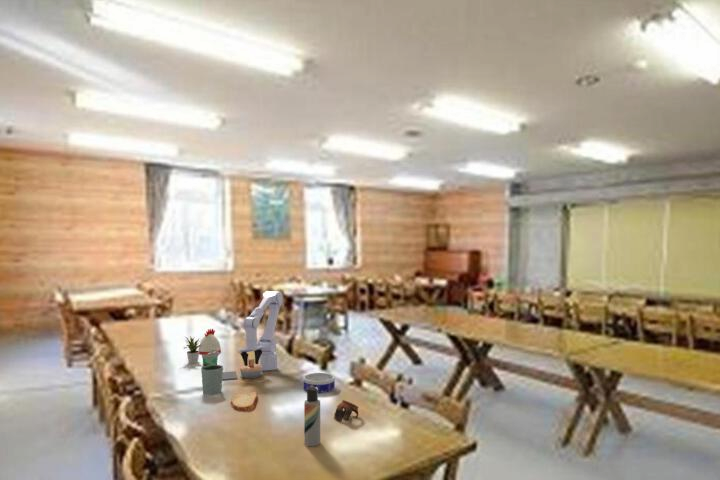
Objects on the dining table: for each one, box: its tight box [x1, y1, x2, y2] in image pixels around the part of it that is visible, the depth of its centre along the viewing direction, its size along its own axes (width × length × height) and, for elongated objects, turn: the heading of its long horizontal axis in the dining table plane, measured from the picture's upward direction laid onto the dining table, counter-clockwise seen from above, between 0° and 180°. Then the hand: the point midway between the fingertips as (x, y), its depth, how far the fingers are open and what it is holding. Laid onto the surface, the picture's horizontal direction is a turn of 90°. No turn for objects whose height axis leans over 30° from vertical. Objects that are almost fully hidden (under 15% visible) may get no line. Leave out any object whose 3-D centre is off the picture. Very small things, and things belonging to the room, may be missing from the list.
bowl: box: [240, 369, 263, 379], centre depth 263 cm, size 11×11×4 cm
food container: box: [201, 350, 220, 367], centre depth 276 cm, size 12×6×10 cm, turn 168°
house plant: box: [183, 335, 203, 364], centre depth 293 cm, size 14×14×16 cm
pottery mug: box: [333, 399, 359, 423], centre depth 200 cm, size 12×10×8 cm
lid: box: [239, 358, 263, 372], centre depth 263 cm, size 12×12×5 cm
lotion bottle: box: [303, 387, 321, 447], centre depth 176 cm, size 6×6×20 cm
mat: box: [222, 370, 238, 381], centre depth 262 cm, size 16×14×1 cm
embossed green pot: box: [200, 364, 224, 396], centre depth 235 cm, size 10×10×12 cm
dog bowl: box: [302, 372, 336, 394], centre depth 241 cm, size 15×15×6 cm
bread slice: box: [230, 391, 259, 413], centre depth 220 cm, size 18×18×4 cm
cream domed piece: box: [197, 328, 222, 355], centre depth 320 cm, size 14×14×15 cm
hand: (251, 364), depth 263 cm, fingers open, 6 cm apart
